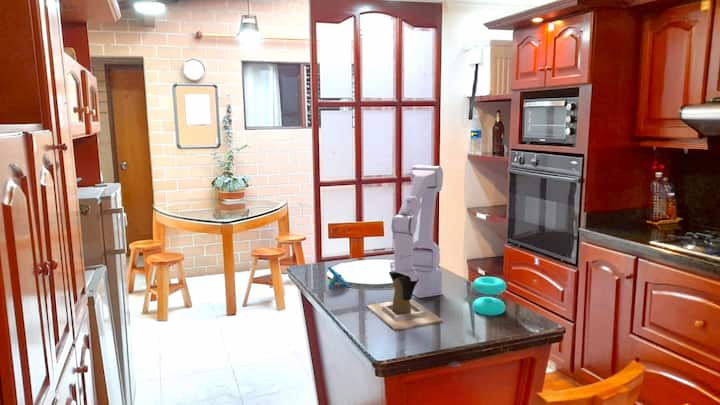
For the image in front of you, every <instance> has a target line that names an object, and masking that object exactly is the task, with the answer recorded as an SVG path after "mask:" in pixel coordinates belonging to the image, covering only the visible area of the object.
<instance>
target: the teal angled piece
mask: <svg viewBox="0 0 720 405" xmlns="http://www.w3.org/2000/svg"><path fill="white" fill-rule="evenodd" d="M327 270H329V272H330V273H331V274H332V279H331V280H330V281H329V282H328V283H329V285H328V286H327V287H328V288H329V289H331V288H332V287H333V286H334V285H335V284H336V283H338V282H341V283H342V285H344V286H345V287H346V288H349V286H350V284H348V282H347V281H346V280H345V279H344V278H343V277H342V275H341V274H340V273H338V272H337V271H335V269H333V268H332V267H331V266H328V268H327Z"/></svg>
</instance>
